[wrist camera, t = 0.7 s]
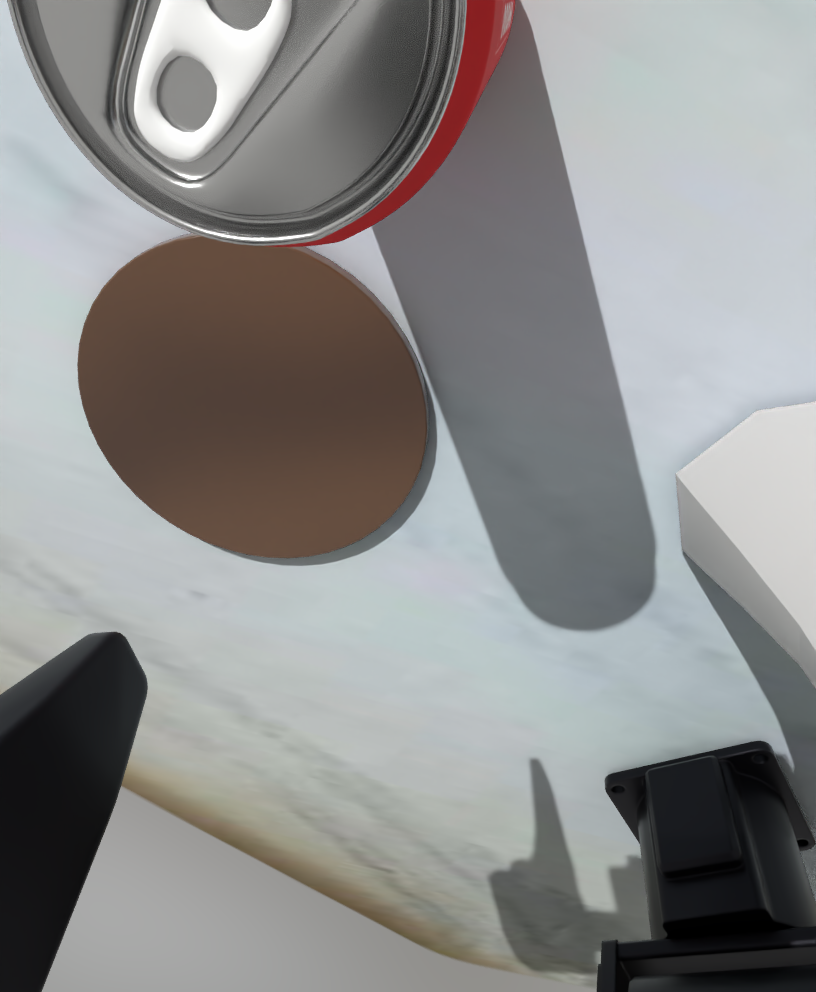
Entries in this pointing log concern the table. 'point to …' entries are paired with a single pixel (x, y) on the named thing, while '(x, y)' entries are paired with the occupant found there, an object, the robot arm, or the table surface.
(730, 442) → the flask
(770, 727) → the table surface
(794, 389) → the table surface
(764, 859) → the robot arm
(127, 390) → the coaster
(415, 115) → the beverage can
